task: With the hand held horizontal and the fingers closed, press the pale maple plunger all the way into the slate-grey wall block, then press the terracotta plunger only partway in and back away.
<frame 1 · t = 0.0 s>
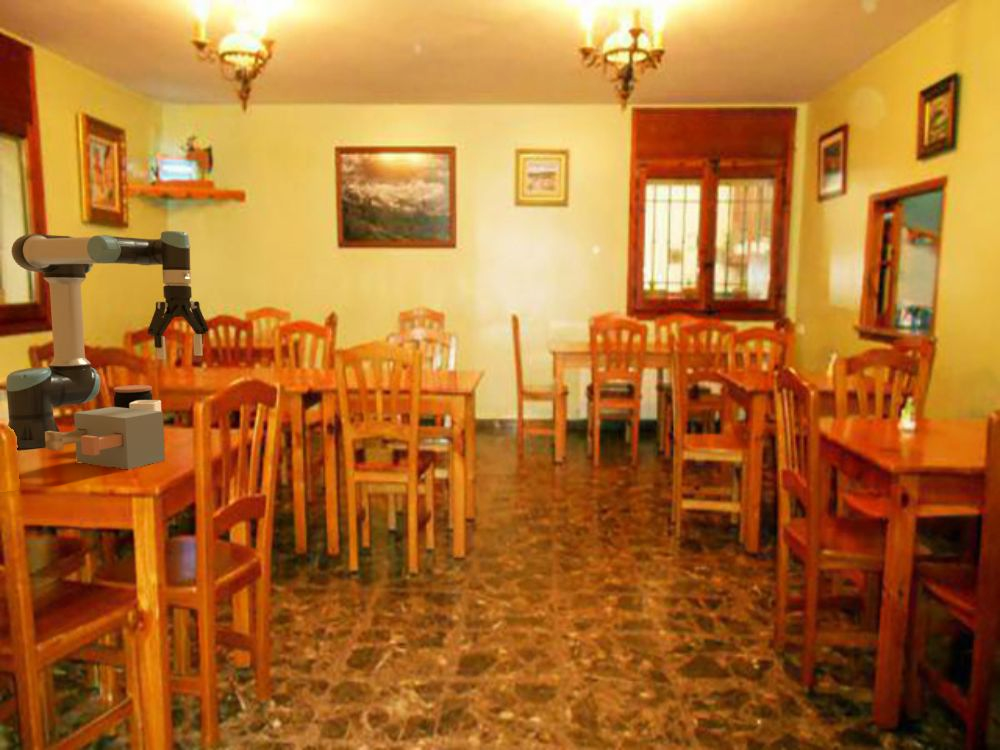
hand: (180, 357, 216), 28 cm above the table, tool pointing down, fingers open, 13 cm apart
terracotta plunger: (109, 441, 193), point 8 cm above the table, slide at 0.0 cm
pale plunger: (73, 436, 198), point 8 cm above the table, slide at 0.0 cm
wall block: (121, 461, 204), on the table
cup: (147, 451, 218), on the table
coffee jar: (135, 445, 227), on the table
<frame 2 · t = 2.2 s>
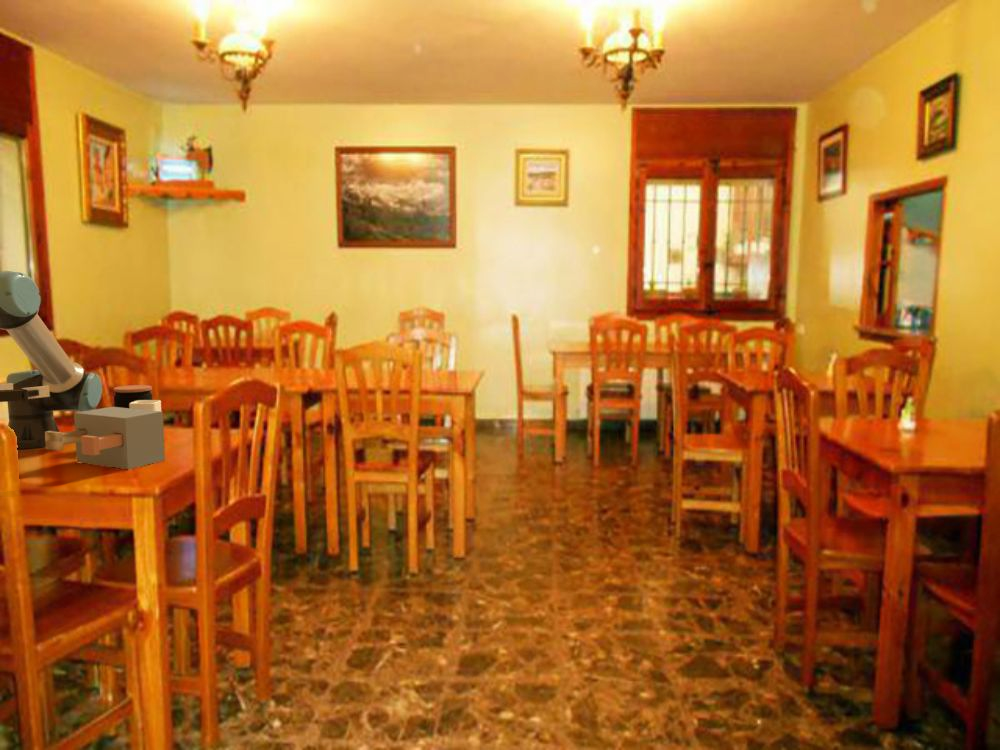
hand: (30, 389, 187), 22 cm above the table, tool horizontal, fingers open, 13 cm apart
nothing on the table moved.
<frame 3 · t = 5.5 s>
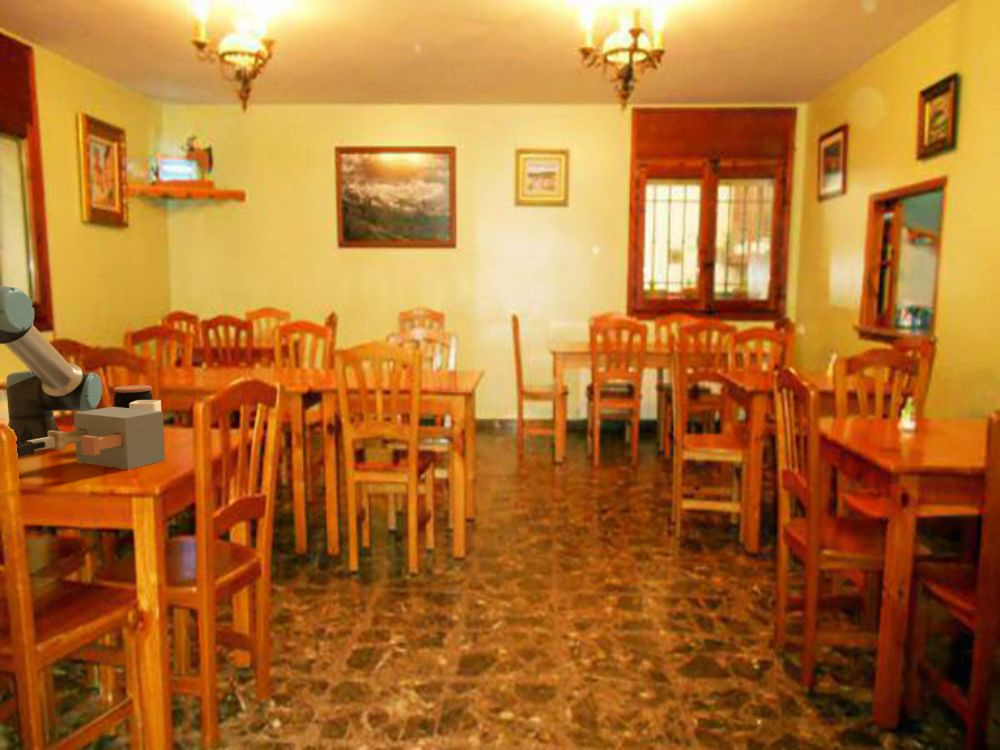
hand: (53, 441, 193), 8 cm above the table, tool horizontal, fingers closed
pale plunger: (75, 436, 199), point 8 cm above the table, slide at 0.7 cm, touching gripper
everything else where it was.
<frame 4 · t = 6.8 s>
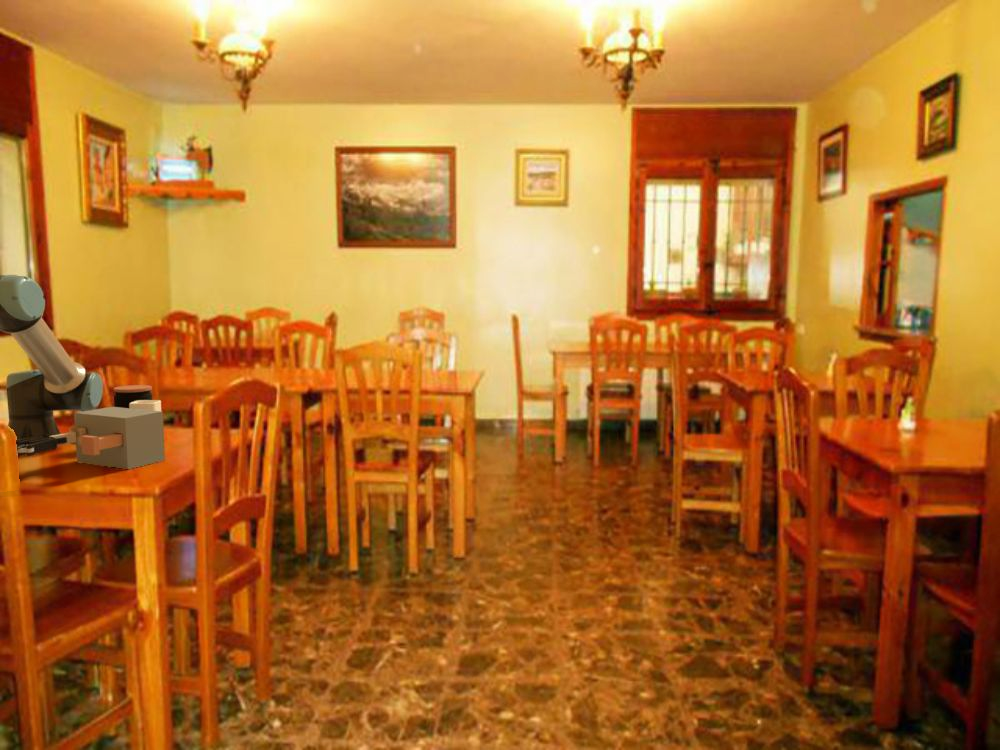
hand: (74, 437, 199), 8 cm above the table, tool horizontal, fingers closed
pale plunger: (95, 432, 205), point 8 cm above the table, slide at 6.8 cm, touching gripper
everything else where it was.
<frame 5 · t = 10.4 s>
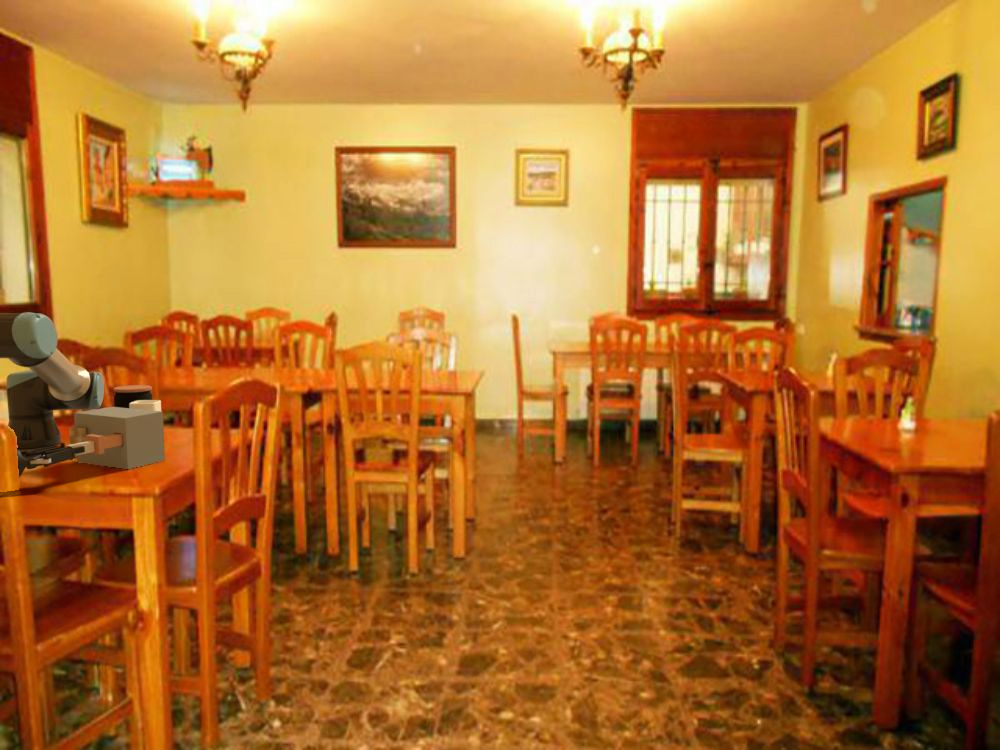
hand: (92, 446, 188), 8 cm above the table, tool horizontal, fingers closed
terracotta plunger: (114, 440, 194), point 8 cm above the table, slide at 1.4 cm, touching gripper
pale plunger: (96, 432, 205), point 8 cm above the table, slide at 6.8 cm
everything else where it was.
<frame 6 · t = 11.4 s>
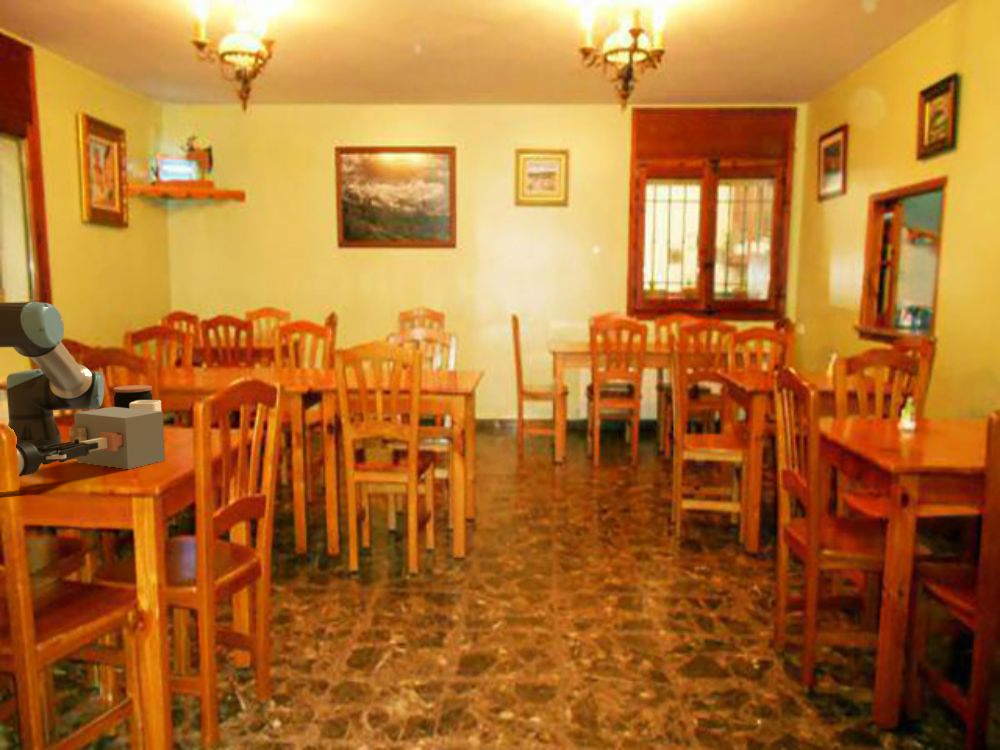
hand: (105, 442, 192), 8 cm above the table, tool horizontal, fingers closed
terracotta plunger: (126, 437, 198), point 8 cm above the table, slide at 5.3 cm, touching gripper
everything else where it was.
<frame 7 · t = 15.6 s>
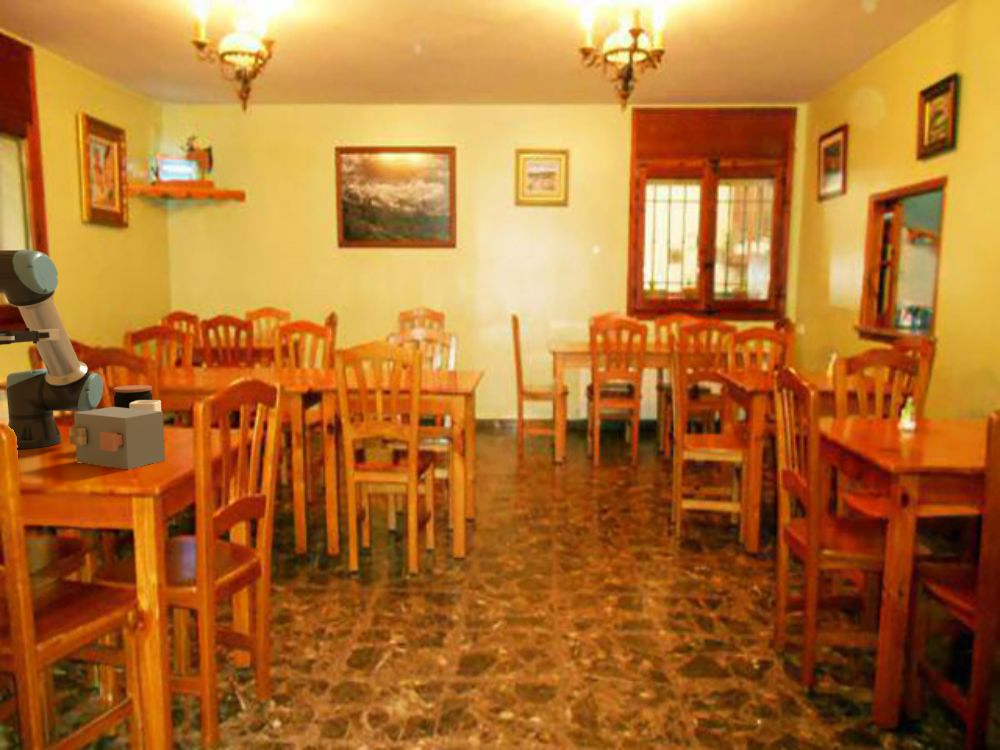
hand: (57, 334, 193), 36 cm above the table, tool horizontal, fingers closed
terracotta plunger: (126, 437, 198), point 8 cm above the table, slide at 5.3 cm
everything else where it was.
at the end: pale plunger slide at 6.8 cm; terracotta plunger slide at 5.3 cm; terracotta plunger touching nothing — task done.
